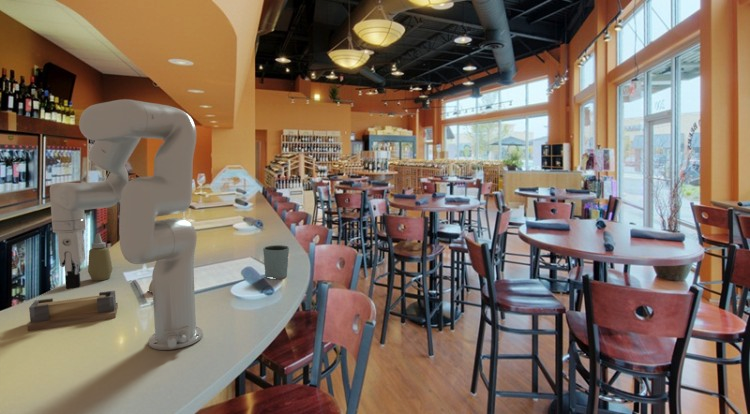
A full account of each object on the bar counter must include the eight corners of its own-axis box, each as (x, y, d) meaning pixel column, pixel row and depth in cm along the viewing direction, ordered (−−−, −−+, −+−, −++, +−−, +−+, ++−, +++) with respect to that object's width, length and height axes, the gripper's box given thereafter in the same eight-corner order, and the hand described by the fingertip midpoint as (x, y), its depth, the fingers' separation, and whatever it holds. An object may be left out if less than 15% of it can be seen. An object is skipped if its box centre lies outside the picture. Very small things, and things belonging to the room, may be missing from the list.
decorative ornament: (159, 288, 146) (158, 274, 145) (168, 294, 140) (167, 279, 140) (147, 291, 143) (146, 276, 143) (155, 296, 137) (154, 281, 137)
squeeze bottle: (91, 277, 160) (87, 233, 158) (114, 275, 163) (112, 231, 161) (86, 282, 152) (82, 236, 151) (111, 280, 156) (108, 235, 154)
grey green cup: (263, 274, 166) (262, 245, 165) (288, 272, 169) (287, 244, 168) (264, 280, 156) (263, 250, 155) (290, 278, 159) (290, 249, 158)
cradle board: (115, 317, 118) (114, 298, 118) (27, 331, 109) (26, 309, 108) (117, 307, 127) (116, 288, 126) (37, 318, 117) (35, 298, 117)
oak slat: (105, 310, 120) (104, 297, 120) (37, 320, 112) (35, 306, 112) (106, 307, 123) (105, 294, 122) (39, 316, 115) (38, 303, 114)
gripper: (81, 228, 110) (85, 293, 112) (88, 221, 123) (92, 279, 125) (46, 230, 107) (51, 297, 109) (57, 222, 120) (62, 282, 122)
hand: (73, 287), depth 117 cm, fingers closed
